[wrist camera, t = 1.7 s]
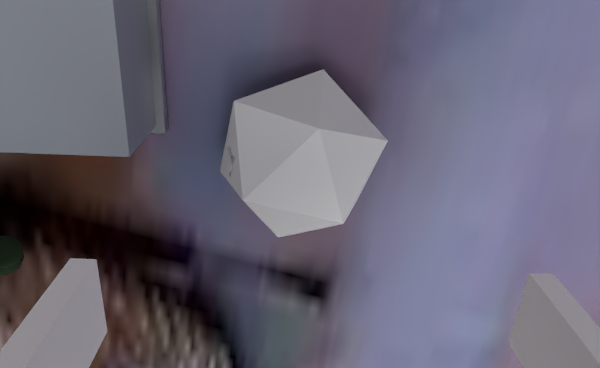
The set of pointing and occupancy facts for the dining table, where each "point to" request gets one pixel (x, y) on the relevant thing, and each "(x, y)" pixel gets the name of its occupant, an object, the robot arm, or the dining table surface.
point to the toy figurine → (10, 254)
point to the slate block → (80, 76)
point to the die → (300, 154)
